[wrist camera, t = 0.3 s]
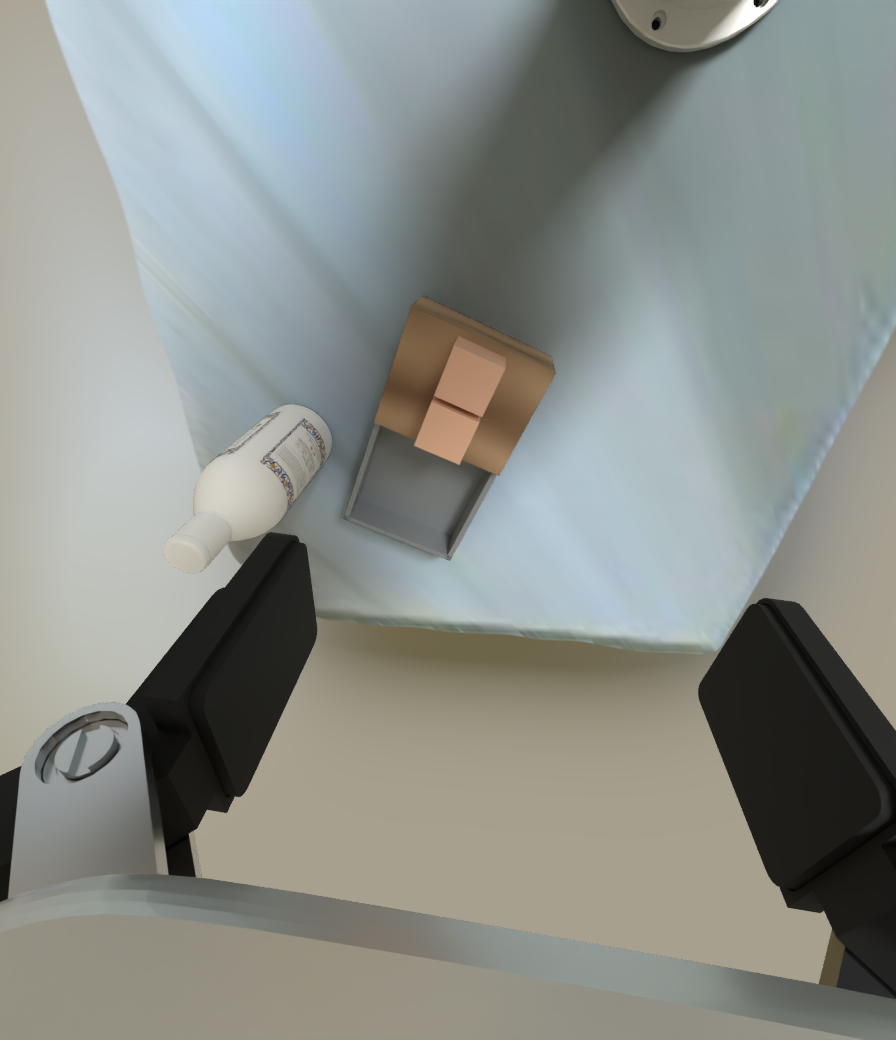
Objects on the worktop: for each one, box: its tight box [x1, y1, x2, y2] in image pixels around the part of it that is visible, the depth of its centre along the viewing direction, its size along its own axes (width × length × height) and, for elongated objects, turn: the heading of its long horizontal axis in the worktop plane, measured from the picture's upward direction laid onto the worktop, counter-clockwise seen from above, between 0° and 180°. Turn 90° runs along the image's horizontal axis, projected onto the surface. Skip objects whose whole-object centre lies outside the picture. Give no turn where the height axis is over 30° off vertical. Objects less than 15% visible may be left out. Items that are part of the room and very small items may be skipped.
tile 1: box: [434, 336, 506, 417], centre depth 34 cm, size 4×4×3 cm
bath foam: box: [163, 405, 332, 573], centre depth 38 cm, size 7×7×20 cm
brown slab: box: [374, 296, 556, 476], centre depth 39 cm, size 10×12×5 cm
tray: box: [343, 423, 497, 561], centre depth 45 cm, size 12×12×4 cm
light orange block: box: [414, 396, 480, 465], centre depth 37 cm, size 4×4×3 cm
